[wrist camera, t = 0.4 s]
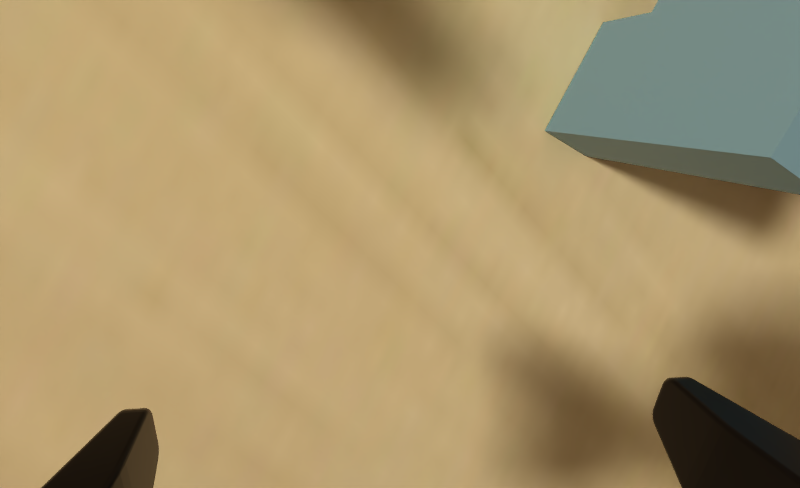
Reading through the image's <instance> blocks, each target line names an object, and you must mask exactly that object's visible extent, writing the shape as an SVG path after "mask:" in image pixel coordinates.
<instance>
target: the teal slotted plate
mask: <svg viewBox="0 0 800 488" xmlns="http://www.w3.org/2000/svg"><path fill="white" fill-rule="evenodd" d="M545 131H546V132H548V133H549V134H551V135H552V136H554V137H556V138H557V139H559V140H561V141H562V142H564V143H566V144H567V145H569V146H570V147H572V148H574V149H575V150H577V151H579V152H580V153H582V154H583V155H585V156H588V157H594V158H599V159H605V160H610V161H616V162H622V163H627V164H633V165H638V166H644V167H649V168H655V169H660V170H666V171H671V172H677V173H683V174H688V175H694V176H699V177H705V178H710V179H716V180H721V181H727V182H733V183H738V184H744V185H749V186H755V187H760V188H766V189H771V190H777V191H782V192H788V193H794V194H799V195H800V0H658V2H657V4H656V6H655V7H654V9H653V11H652V12H651V13H646V14H641V15H636V16H632V17H627V18H622V19H617V20H613V21H608V22H603V24H602V26H601V27H600V29H599V31H598V33H597V35H596V37H595V38H594V40H593V42H592V44H591V46H590V48H589V50H588V51H587V53H586V55H585V57H584V59H583V61H582V63H581V64H580V66H579V68H578V70H577V72H576V74H575V76H574V77H573V79H572V81H571V83H570V85H569V87H568V89H567V90H566V92H565V94H564V96H563V98H562V100H561V102H560V103H559V105H558V107H557V109H556V111H555V113H554V114H553V116H552V118H551V120H550V122H549V124H548V126H547V127H546V129H545Z"/></svg>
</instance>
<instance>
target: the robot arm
mask: <svg viewBox="0 0 800 488" xmlns="http://www.w3.org/2000/svg"><path fill="white" fill-rule="evenodd" d="M653 421H654V424H655V427H656V429H657V431H658V434H659V436H660V438H661V440H662V443H663V445H664V447H665V450H666V452H667V454H668V457H669V459H670V461H671V464H672V466H673V468H674V470H675V473H676V475H677V477H678V480H679V482H680V484H681V487H682V488H800V440H799V439H797V438H795V437H793V436H792V435H790V434H788V433H786V432H785V431H783V430H781V429H779V428H778V427H776V426H774V425H772V424H771V423H769V422H767V421H765V420H764V419H762V418H760V417H758V416H757V415H755V414H753V413H751V412H750V411H748V410H746V409H744V408H743V407H741V406H739V405H737V404H736V403H734V402H732V401H730V400H729V399H727V398H725V397H723V396H722V395H720V394H718V393H716V392H715V391H713V390H711V389H709V388H708V387H706V386H704V385H702V384H701V383H699V382H697V381H695V380H694V379H692V378H689V377H675V378H668V379H667V380H665V381H664V383H663V385H662V387H661V390H660V393H659V395H658V398H657V400H656V403H655V406H654V408H653ZM158 454H159V446H158V440H157V435H156V430H155V425H154V420H153V416H152V413H151V411H150V410H149V409H147V408H140V409H125V410H122V411H121V412H119V413H118V414H117V415H116V416H115V417H114V418H113V419H112V420H111V421H110V422H109V423H108V424H107V425H106V426H105V427H103V428H102V429H101V430H100V431H99V432H98V433H97V434H96V435H95V436H94V437H93V438H92V439H91V440H90V441H89V442H88V443H87V444H86V445H85V446H84V447H83V448H82V449H81V450H80V451H79V452H78V453H77V454H76V455H75V456H74V457H73V458H72V459H70V460H69V461H68V462H67V463H66V464H65V465H64V466H63V467H62V468H61V469H60V470H59V471H58V472H57V473H56V474H55V475H54V476H53V477H52V478H51V479H50V480H49V481H48V482H47V483H46V484H45V485H44V486H43V487H42V488H153V485H154V480H155V474H156V468H157V462H158Z"/></svg>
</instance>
